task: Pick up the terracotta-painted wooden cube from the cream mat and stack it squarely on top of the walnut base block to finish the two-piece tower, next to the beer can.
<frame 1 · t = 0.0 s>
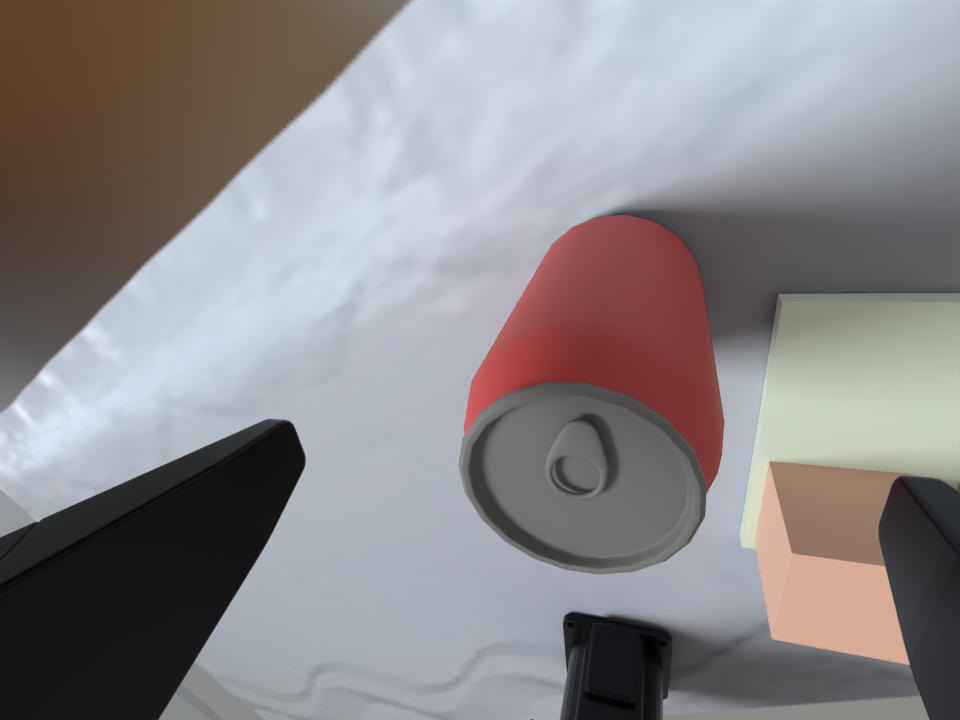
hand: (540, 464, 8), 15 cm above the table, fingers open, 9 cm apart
cube: (824, 510, 23), point 1 cm above the table, touching cream mat
beer can: (616, 287, 22), on the table
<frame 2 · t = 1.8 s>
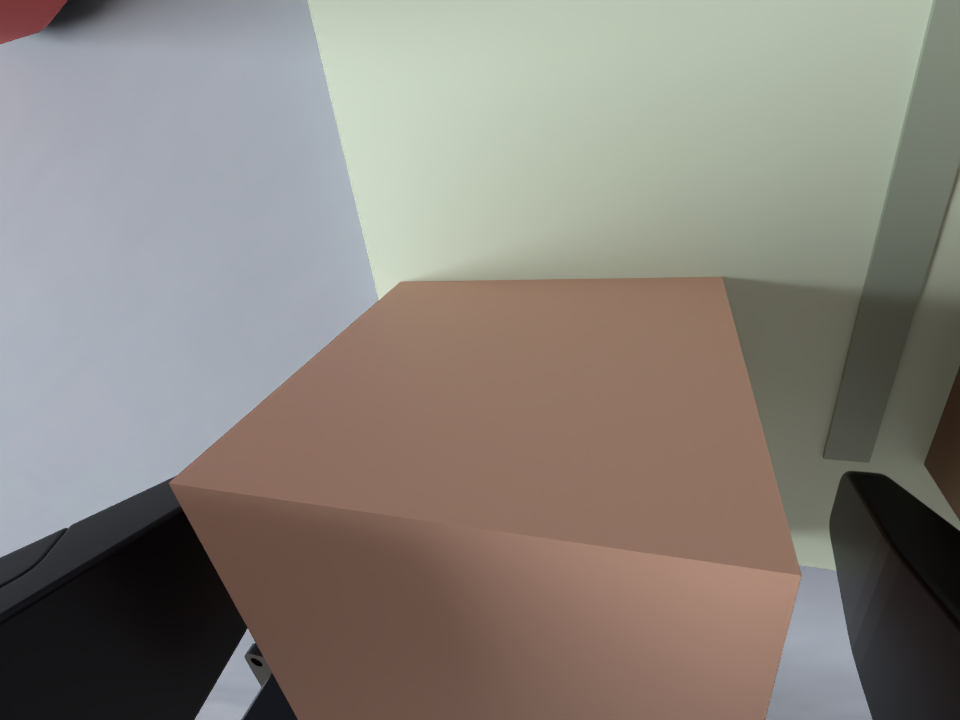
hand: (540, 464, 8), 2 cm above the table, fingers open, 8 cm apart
cube: (554, 412, 9), point 1 cm above the table, touching cream mat
cream mat: (938, 176, 7), on the table
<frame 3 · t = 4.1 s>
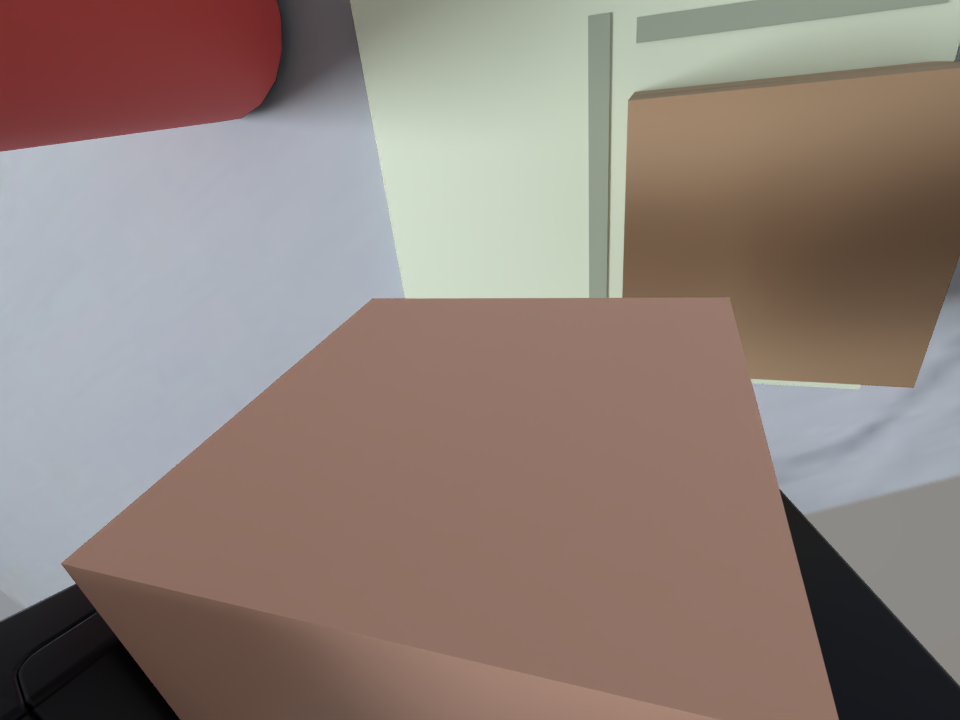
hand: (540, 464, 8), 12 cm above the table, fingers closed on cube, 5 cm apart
cube: (543, 440, 8), point 11 cm above the table, touching gripper
base block: (751, 210, 15), point 1 cm above the table, touching cream mat
beer can: (213, 17, 18), on the table
cream mat: (616, 194, 17), on the table
when the fingers open (7 cm above the table, at t = 5.6 s): cube drops 1 cm, resting on base block.
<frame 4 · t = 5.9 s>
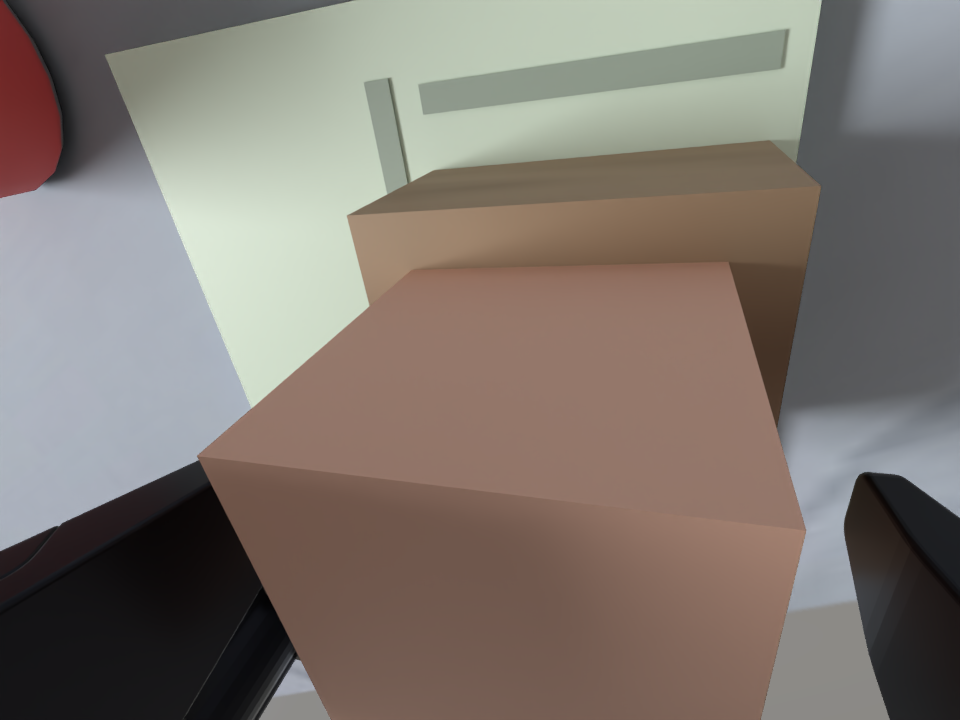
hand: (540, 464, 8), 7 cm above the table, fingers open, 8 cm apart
cube: (563, 397, 9), point 5 cm above the table, touching base block
base block: (588, 307, 13), point 1 cm above the table, touching cream mat, cube
cream mat: (446, 279, 14), on the table
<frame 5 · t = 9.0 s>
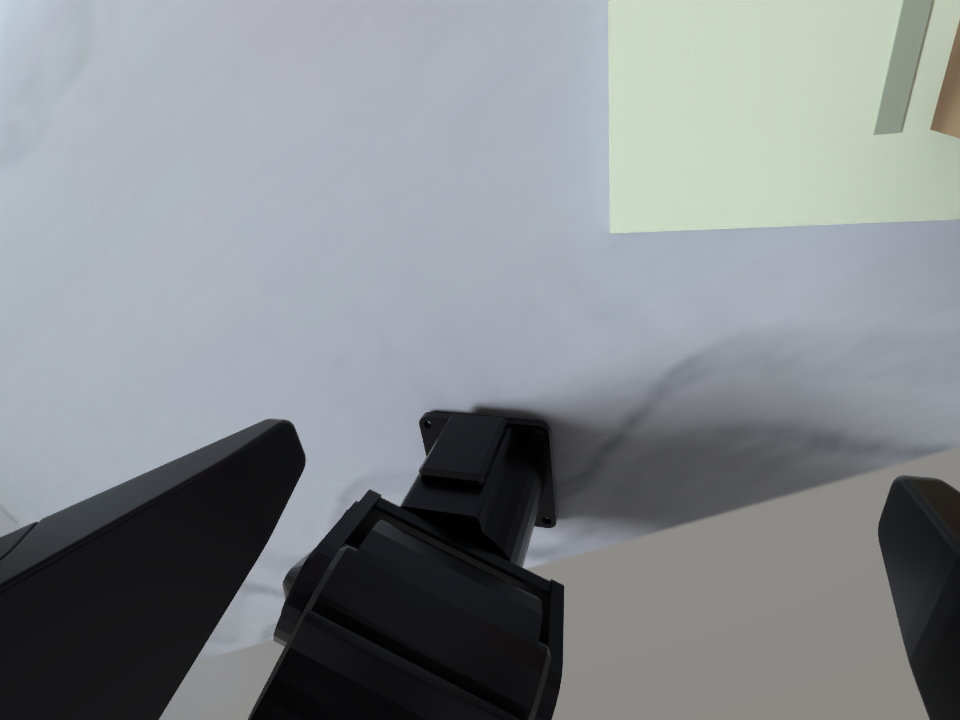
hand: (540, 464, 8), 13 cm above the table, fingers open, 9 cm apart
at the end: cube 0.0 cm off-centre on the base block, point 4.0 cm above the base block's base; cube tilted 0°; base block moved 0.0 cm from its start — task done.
